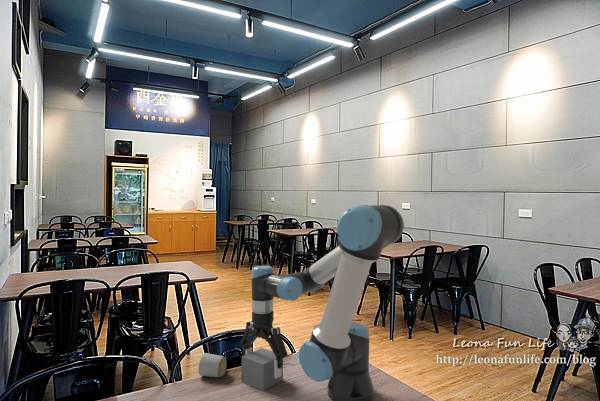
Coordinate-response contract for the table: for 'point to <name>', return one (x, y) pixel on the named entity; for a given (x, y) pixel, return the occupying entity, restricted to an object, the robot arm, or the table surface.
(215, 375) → the ceramic mug
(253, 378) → the grey cube
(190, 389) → the table surface
